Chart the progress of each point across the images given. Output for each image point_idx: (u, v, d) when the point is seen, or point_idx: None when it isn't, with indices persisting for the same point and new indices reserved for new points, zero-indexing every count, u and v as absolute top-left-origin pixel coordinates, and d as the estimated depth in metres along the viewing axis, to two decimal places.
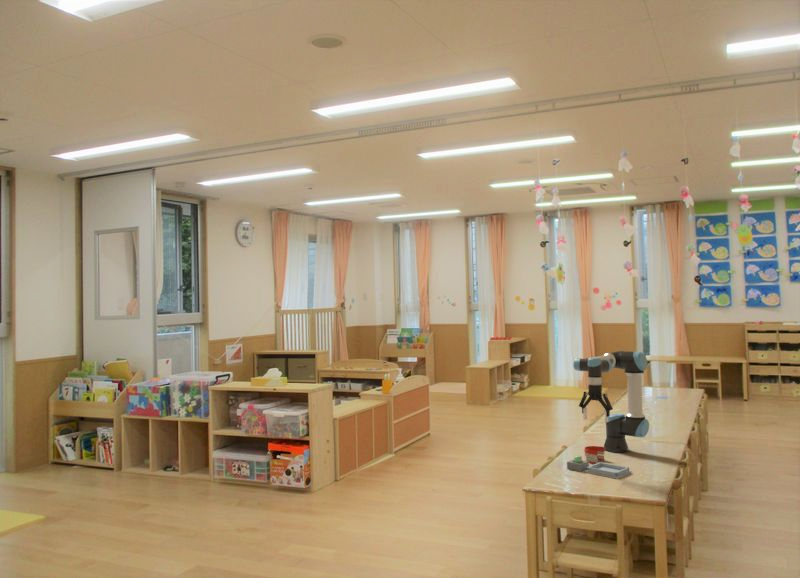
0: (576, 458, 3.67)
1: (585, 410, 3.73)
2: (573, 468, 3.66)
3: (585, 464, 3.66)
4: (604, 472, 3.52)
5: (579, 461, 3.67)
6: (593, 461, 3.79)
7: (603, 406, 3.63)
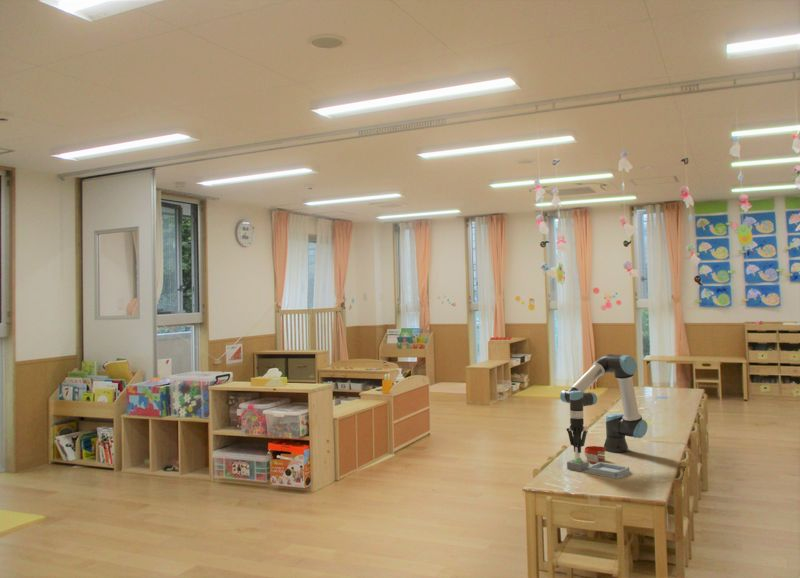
0: (576, 460, 3.67)
1: None
2: (573, 468, 3.66)
3: (585, 464, 3.66)
4: (604, 472, 3.52)
5: None
6: (593, 461, 3.79)
7: (577, 441, 3.67)
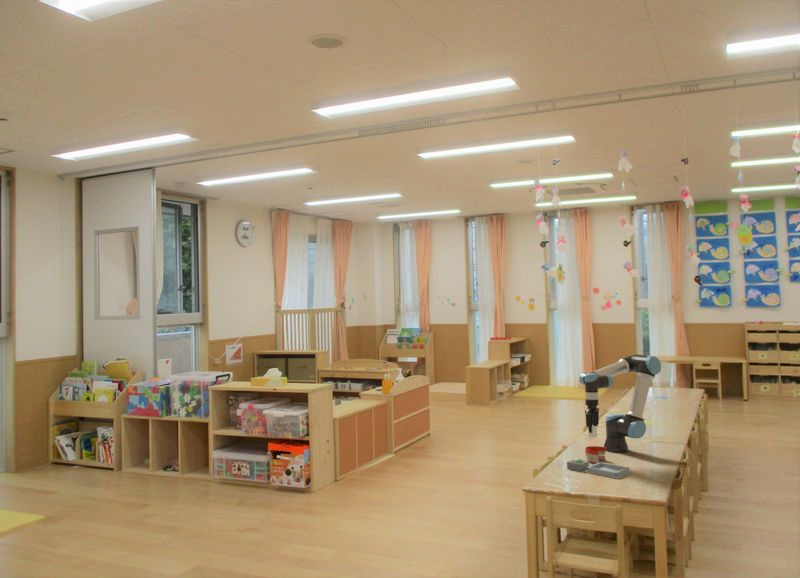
0: (576, 461, 3.67)
1: (593, 428, 3.87)
2: (573, 468, 3.66)
3: (585, 464, 3.66)
4: (604, 472, 3.52)
5: None
6: (594, 461, 3.79)
7: None
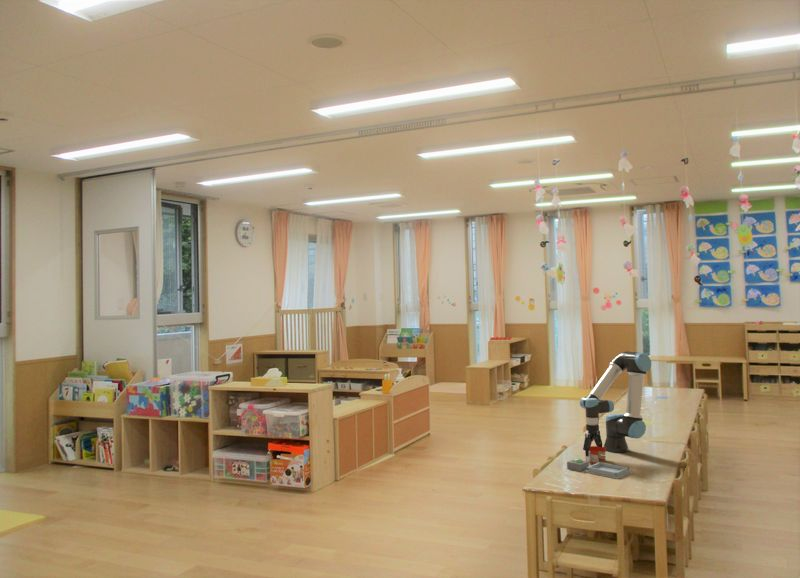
0: (576, 461, 3.67)
1: None
2: (573, 468, 3.66)
3: (585, 464, 3.66)
4: (604, 472, 3.52)
5: None
6: (594, 461, 3.79)
7: None
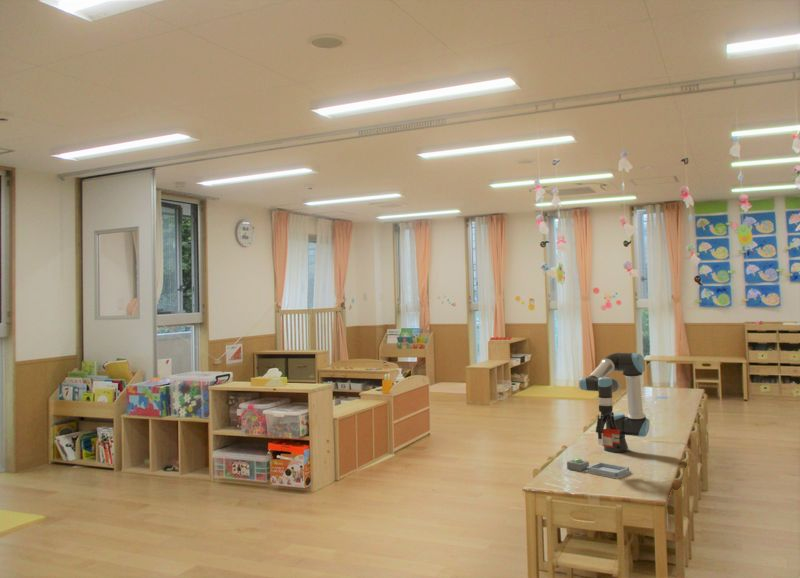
0: (576, 461, 3.67)
1: None
2: (573, 468, 3.66)
3: (585, 464, 3.66)
4: (604, 472, 3.52)
5: None
6: (607, 444, 3.54)
7: None
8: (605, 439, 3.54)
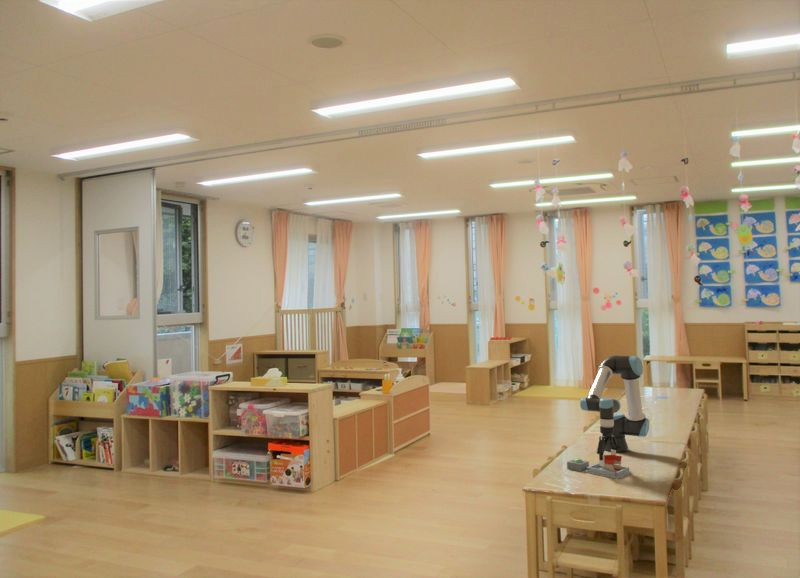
0: (576, 461, 3.67)
1: (612, 452, 3.64)
2: (573, 468, 3.66)
3: (585, 464, 3.66)
4: (604, 472, 3.52)
5: None
6: None
7: None
8: (607, 466, 3.53)
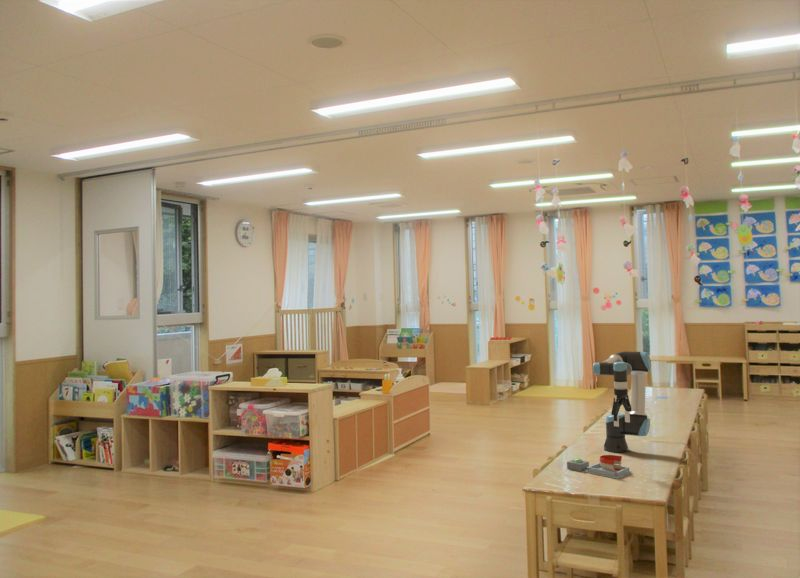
0: (576, 461, 3.67)
1: (626, 413, 3.77)
2: (573, 468, 3.66)
3: (585, 464, 3.66)
4: (604, 472, 3.52)
5: None
6: None
7: None
8: (607, 466, 3.53)
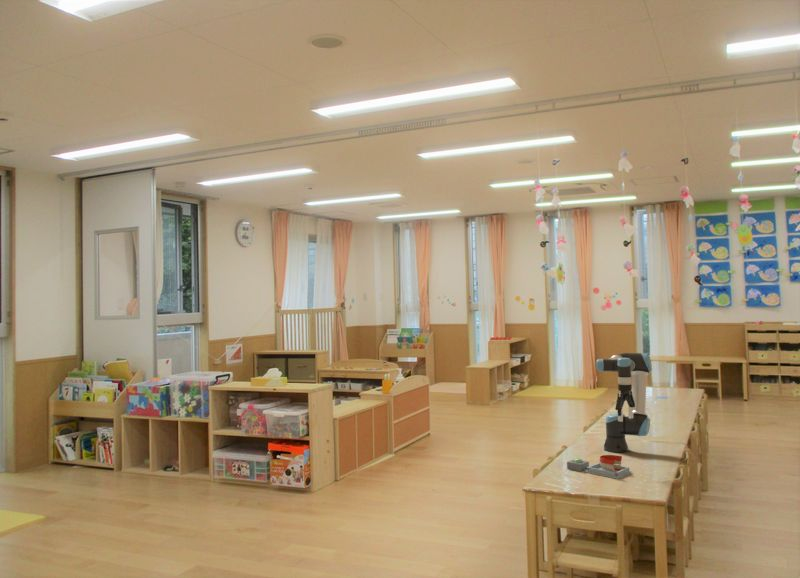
0: (576, 461, 3.67)
1: (630, 409, 3.80)
2: (573, 468, 3.66)
3: (585, 464, 3.66)
4: (604, 472, 3.52)
5: None
6: None
7: None
8: (607, 466, 3.53)
